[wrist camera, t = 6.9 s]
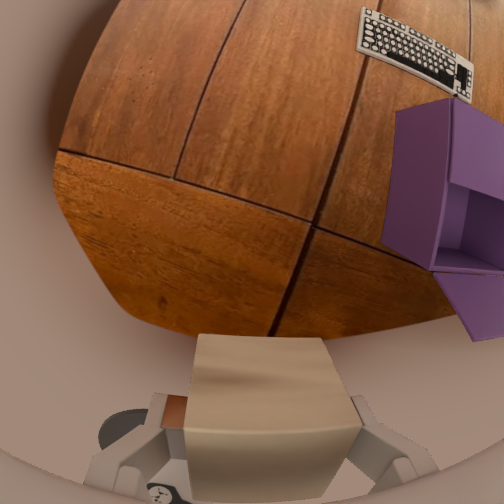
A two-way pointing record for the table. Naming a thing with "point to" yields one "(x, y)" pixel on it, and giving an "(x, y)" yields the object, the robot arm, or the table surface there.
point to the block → (265, 419)
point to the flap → (476, 302)
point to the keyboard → (414, 53)
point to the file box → (447, 189)
